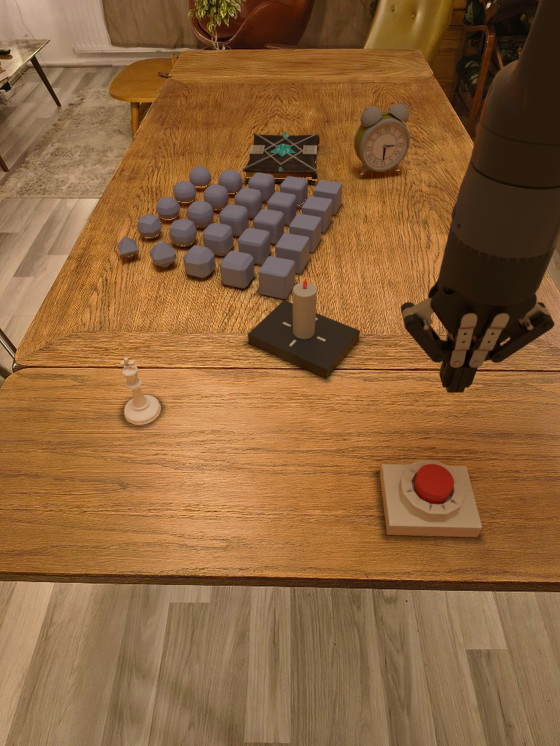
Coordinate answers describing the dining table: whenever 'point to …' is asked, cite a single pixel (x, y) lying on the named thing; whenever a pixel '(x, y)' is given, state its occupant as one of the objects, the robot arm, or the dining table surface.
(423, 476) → the button
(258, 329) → the panel
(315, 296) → the knob
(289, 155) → the book
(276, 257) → the blocks
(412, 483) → the box
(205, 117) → the dining table surface
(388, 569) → the dining table surface
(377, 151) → the alarm clock
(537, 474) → the dining table surface
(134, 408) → the chess piece
